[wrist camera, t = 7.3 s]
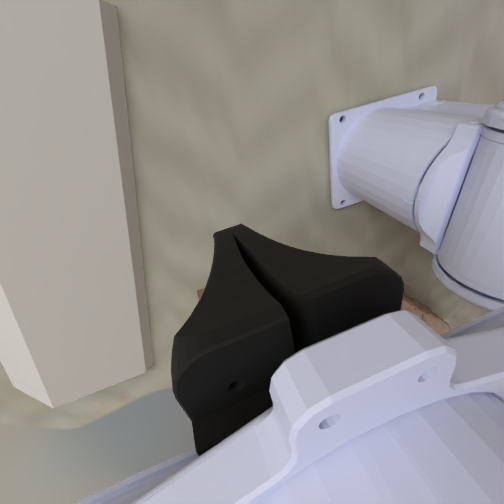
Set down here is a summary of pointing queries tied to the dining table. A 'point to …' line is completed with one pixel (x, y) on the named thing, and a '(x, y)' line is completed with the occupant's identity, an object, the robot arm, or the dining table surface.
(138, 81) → the dining table surface
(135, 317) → the crown molding
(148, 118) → the dining table surface
